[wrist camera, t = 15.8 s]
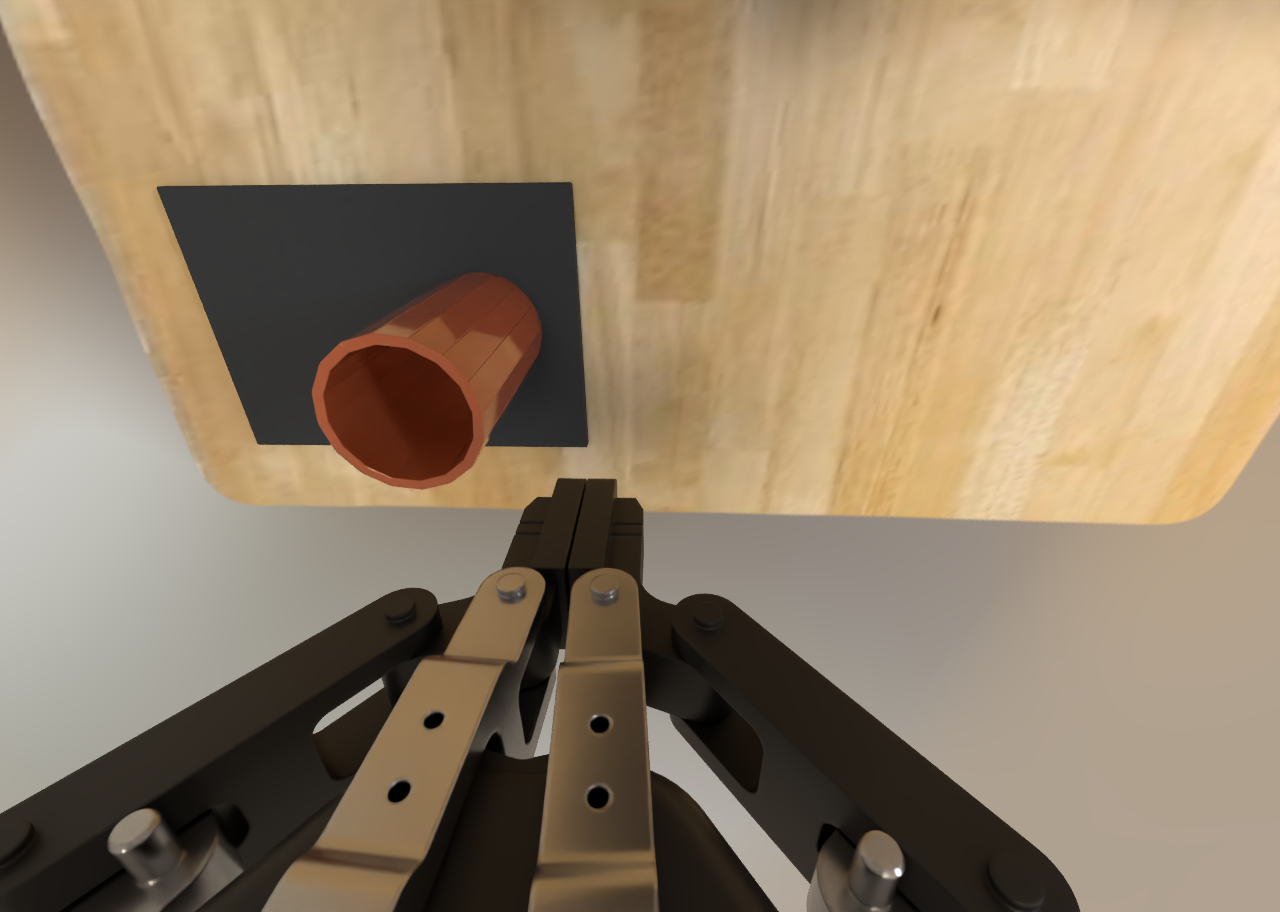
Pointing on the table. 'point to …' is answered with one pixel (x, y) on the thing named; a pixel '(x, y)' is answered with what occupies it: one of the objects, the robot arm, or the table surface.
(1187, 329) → the table surface
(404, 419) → the cup
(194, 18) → the table surface
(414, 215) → the mat
